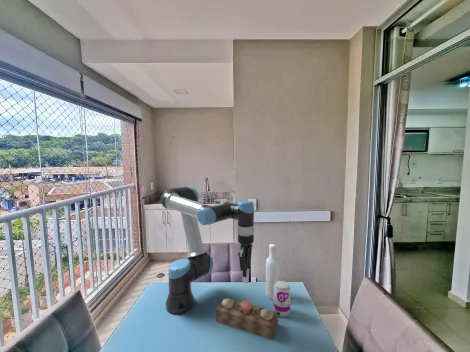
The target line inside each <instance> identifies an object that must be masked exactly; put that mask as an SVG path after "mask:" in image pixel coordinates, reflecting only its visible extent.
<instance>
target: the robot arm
mask: <svg viewBox="0 0 470 352" xmlns="http://www.w3.org/2000/svg"><path fill="white" fill-rule="evenodd" d="M199 198H200V196H199V193H198V191H197V190H196V188H194V187H192V186H182V187H173V188H168V189H165V191H163V192H162V194H161V195H160V204H161V205H162V207H164V208H165V209H166V210H169V211H177V212H179V213H180V215H181V219H182V224H183V229H184V233H185V238H186V243H187V247H188V253H187V256H186V257H187V258H179V259H176V260H174V261H173V262H172V263H170V264H169V267H168V272H167V276H168V295H167V299H166V301H165V308H166V311H167V312H168V313H170V314H173V315H179V314H181V315H182V314H185V313H187V312H189V311H190V310H191V309H193V308H194V306H195V297H194V295H193V294H194V293H193V292H192V283H193V282H195V281H197V280H199V279H202V278H203V277H206V276H207V275H208V274H210V273H211V272H212V271H213V269H214V260H213V257H212V256H211V254H210V253H208V252H207V250H206V249H205V248H204V245H203V240H202V235H201V231H200V227H199V223H200V224H201V226H202V225H203V226H209V225H210V226H211V225H212V224H215V223H219V222H222V221H223V222H224V221H225V220H226V221H227V220H236V221H237V243H239V244H240V252H238V254H237V255H238V260H239V261H238V262H239V270H240V271H242V276H241V277H242V278H241V280H242V281H241V282H242V283H243V284H244V283H245V284H249V282H250V280H249V279H250V274H249V273H250V269H251V268H252V266H251V263H252V251H253V243H254V241H255V237H254V233H255V231H254V230H256V229H255V221H254V219H255V204H254V202H253V201H251V200H240V201H237V203H233V202H230V201H222V202H221V203H220V204H217V205H214V206H213V205H212V206H211V205H208V204H205V203H202V202H199ZM198 222H199V223H198Z"/></svg>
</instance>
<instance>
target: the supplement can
mask: <svg viewBox="0 0 470 352" xmlns="http://www.w3.org/2000/svg"><path fill="white" fill-rule="evenodd" d="M273 311H276V312H278V317H280V318H286V317H288V316H289V315H291V287H290V283H289V282H287V281H285V280H279V281H276V282H275V284H274V300H273Z"/></svg>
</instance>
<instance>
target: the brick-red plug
mask: <svg viewBox="0 0 470 352" xmlns="http://www.w3.org/2000/svg"><path fill="white" fill-rule="evenodd" d="M240 302H241V309H242V310H243V313H244V314H248V315H250V310H251V309H252V305H253V302H251V301H250V300H242V301H240Z"/></svg>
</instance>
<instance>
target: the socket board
mask: <svg viewBox="0 0 470 352" xmlns="http://www.w3.org/2000/svg"><path fill="white" fill-rule="evenodd" d="M225 299H229V298H228V297H224V299H223V300H225ZM232 300H233V307H232V308H231V309H225V308H223V306H222V302H221V303H219V305H218V306H217V307H216V309H215V321H216V322H218V323H220V324H221V323H222V324H224V325H226V326H229V327H233V328H236V329H239V330H242V331H245V332H248V333H251V334H254V335H257V336H260V337H263V338H265V339H270V340H273V339H274V336H275V333H276V330H277V327H278V324H279V320H278V319H279V316H278V312H276V311H274V310H271V309H270V310H271V311H272V312H273V318H272V319H271V321H266V320H263V319H262V318H261V311H262V310H263V309H266V308H264V307H261V306H257V305H253V304H252V309H251V310H250V315H248V314H244V313H243V310H242V309H241V302H242V301H239V300H235V299H232Z"/></svg>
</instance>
